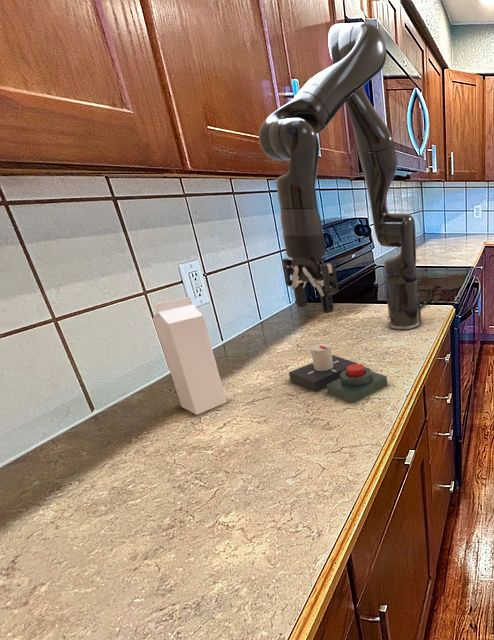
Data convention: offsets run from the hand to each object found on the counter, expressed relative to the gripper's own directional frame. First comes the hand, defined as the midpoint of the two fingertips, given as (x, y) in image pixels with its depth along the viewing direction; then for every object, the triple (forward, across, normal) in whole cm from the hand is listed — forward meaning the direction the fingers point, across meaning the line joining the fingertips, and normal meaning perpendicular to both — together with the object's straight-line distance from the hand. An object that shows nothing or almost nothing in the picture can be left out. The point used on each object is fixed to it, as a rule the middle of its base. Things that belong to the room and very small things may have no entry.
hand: (314, 309), depth 91 cm
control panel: (+16, 0, 0) cm, 17 cm away
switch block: (+16, -11, 0) cm, 20 cm away
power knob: (+14, 0, 0) cm, 14 cm away
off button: (+13, -11, 0) cm, 17 cm away
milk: (+17, +10, +22) cm, 29 cm away
